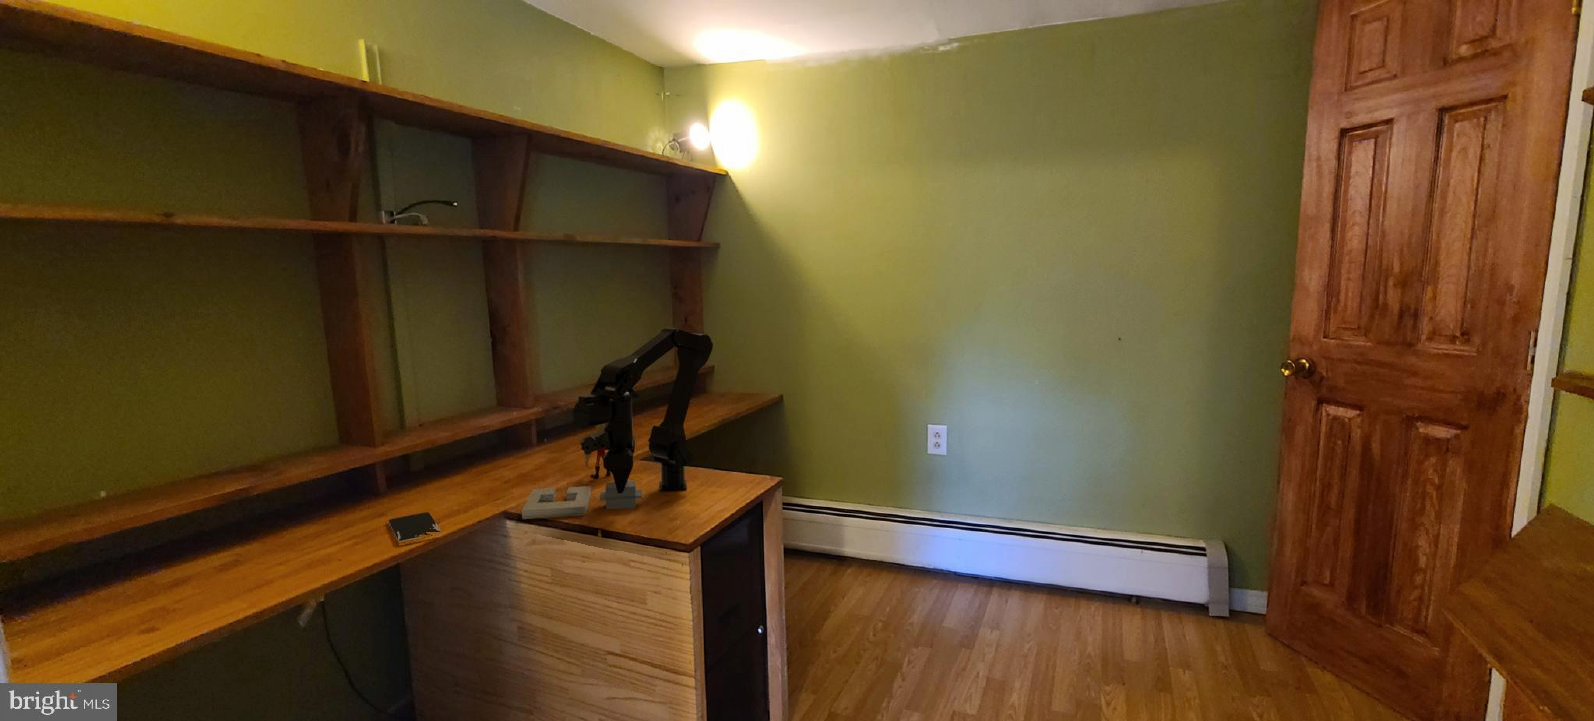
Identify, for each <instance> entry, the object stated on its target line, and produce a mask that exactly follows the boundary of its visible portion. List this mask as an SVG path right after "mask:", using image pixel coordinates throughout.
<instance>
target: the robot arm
mask: <svg viewBox="0 0 1594 721" xmlns="http://www.w3.org/2000/svg"><path fill="white" fill-rule="evenodd" d="M713 347H714V343H713V342H712V339H711V336H709V335H708V334H704V333H696V332H688V331H685V330H683V329H681V328H677V327H664V328H663V329H661V331H660V333H658V334H657V335H655V336H654V337H652V338H651V339H650V340H649V341H647V342H646V343H644V344H643V345H642V346H640V347H639V348H637V350H635V351H634V352H632V353H631V354H630V355H628V356H625V357H621V358H618V359H615V360H613V361H611V362H608V363H607V364H605V365H604V366H602V368H601V370H600V374H599V376H598V378H597V380H596V382H595V383H594V385H593V387H592V389H591V392H590V395H580V396H578V402H576V403H575V404H574V407H573V410H572V418H573V420H574V424H576V426H577V427H578V428H580V429H586V428H591V427H596V425H600V424H604V425H605V428H604V430H602V431H598V432H597V431H596V432H593V433H590V434H588V435H585V436H584V437H581V439H580V441H579V444H580V446H581V450H582V451H583V454H584V453H585V455H588V454H591V452H592V453H594V452H597V450H599V449H601V448H603V447H605V451H607V452H605V455H604V458H603V459H602V462H603V464H602V465H603V468H604V469H605V470H606V471H607V470H608V471H610V473H611V474H612V478H613V482H615V485H616V489H617V492H618V493H623V491H624V488H625V486H626V483H627V481H629V478H630V475H631V473H632V470H633V468H634V463H635V462H634V459H635V458H634V454H635V450H636V436H634V432H633V431H634V430H633V428H634V421H633V399H638V398H640V396H641V395H640V394H639V393H638V392H636V390H635V389H634V387H635V386H637V384H638V383H639V382H640V381H641V379H642V376H643V373H644V372H645V371H646V370H647V369H648V368H650V367H651V366H652V365H653V364H654V363H656V362H657V361H658V360H660V359H661V358H662V357H664V356H665V355H666V354H668V353H669V352H670V351H671V350H673V349H674V348H675V349H677V350H676V356H677V360H678V369H677V372H676V376H675V379H674V383H673V386H672V389H671V390H672V391H671V393H670V398H669V400H668V403H667V408H666V411H665V413H664V418H663V420H662V422H660V424H659V425H653V426H652V427H651V430H650V435H649V438H648V439H647V442H649V443H648V450H649V451H650V454H651V456H652V459H653V462H655V463H660V470H661V471H660V472H661V473H660V474H661V475H660V477H661V479H660V481H659V491H660V492H665V491H684V490H688V486H687V480H686V476H685V475H686V474H685V472H686V471H685V470H686V469H685V468H686V467H688V466H689V465H691V464H692V462H693V458H694V455H693V453H692V452H691V451H690V450H689V449H688V448H687V447H686V440H687V437H686V436H687V435H686V431H685V429H684V424H685V421H686V417H687V414H688V409H689V406H690V402H691V401H692V400H691V399H692V396H693V392H694V388H695V385H696V383H697V378H698V375H699V372H700V369H701V368H702V367H703V366H705V365H706V363H707V362H708V361H709V358H710V356H711V353H712V352H713ZM591 455H592V454H591Z"/></svg>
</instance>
